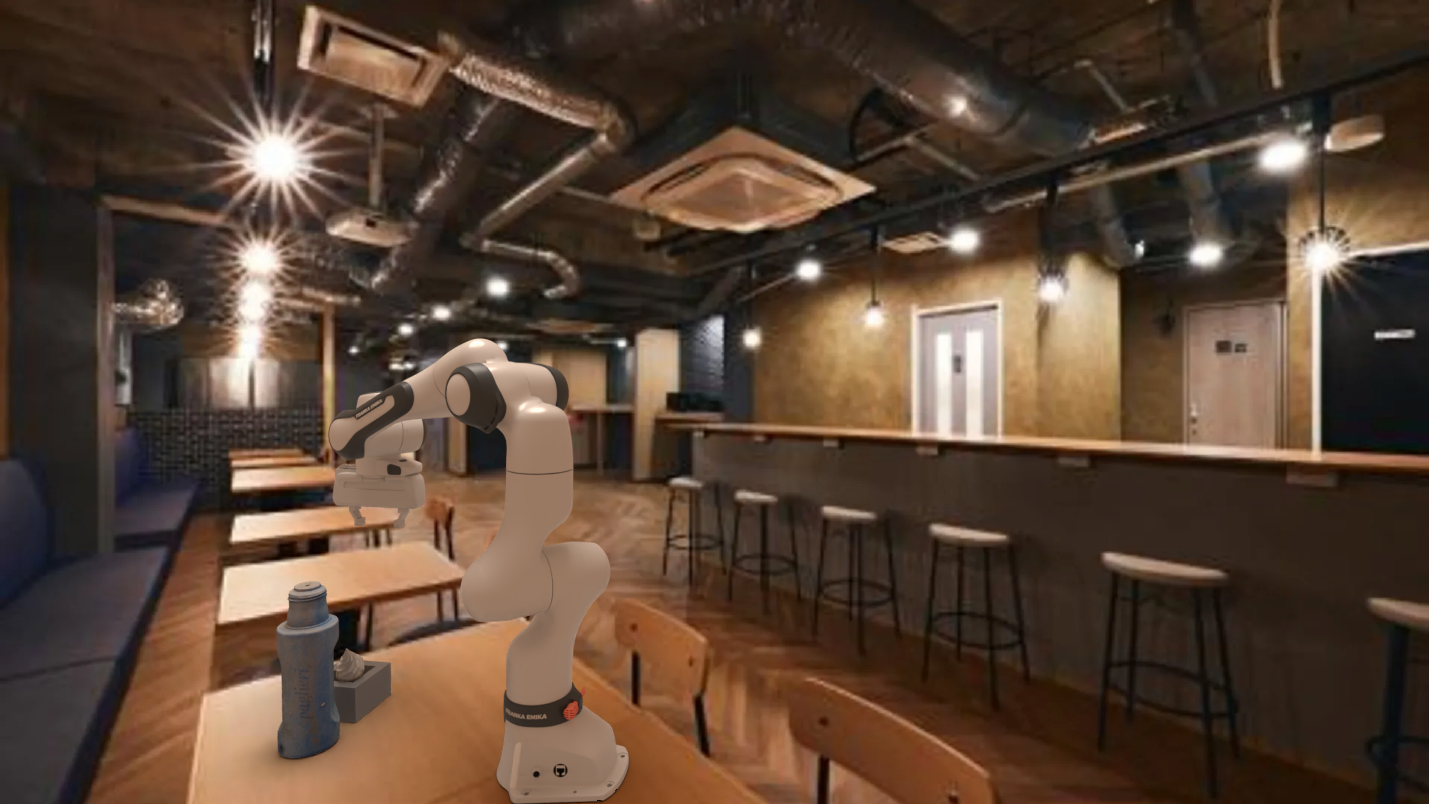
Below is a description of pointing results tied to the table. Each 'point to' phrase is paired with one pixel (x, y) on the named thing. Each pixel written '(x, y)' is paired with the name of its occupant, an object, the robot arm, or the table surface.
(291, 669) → the bottle
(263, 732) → the table surface
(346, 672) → the ice cream cone
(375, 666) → the box
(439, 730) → the table surface
